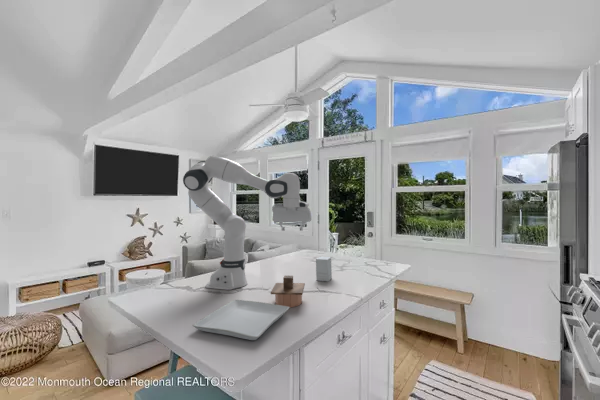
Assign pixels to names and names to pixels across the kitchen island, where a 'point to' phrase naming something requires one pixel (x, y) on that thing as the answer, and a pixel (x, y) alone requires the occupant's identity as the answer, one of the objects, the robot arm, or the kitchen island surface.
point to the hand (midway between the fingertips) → (292, 230)
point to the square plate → (242, 319)
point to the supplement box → (323, 269)
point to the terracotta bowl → (288, 300)
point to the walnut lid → (288, 287)
